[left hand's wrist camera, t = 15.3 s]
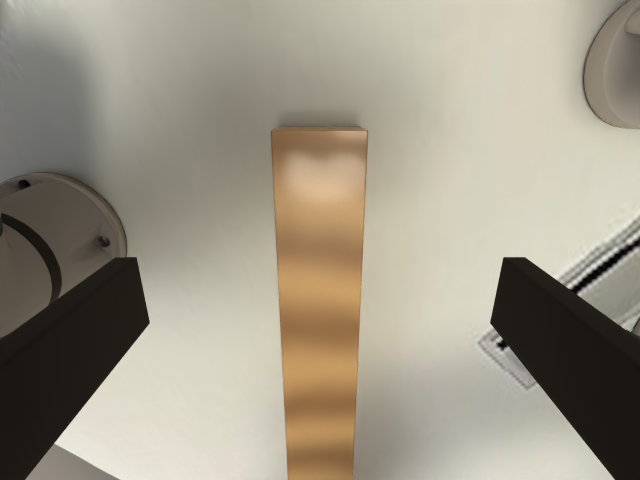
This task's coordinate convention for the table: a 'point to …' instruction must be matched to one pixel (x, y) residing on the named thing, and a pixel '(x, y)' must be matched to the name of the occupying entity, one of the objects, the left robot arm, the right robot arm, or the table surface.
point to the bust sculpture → (616, 69)
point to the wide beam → (319, 291)
